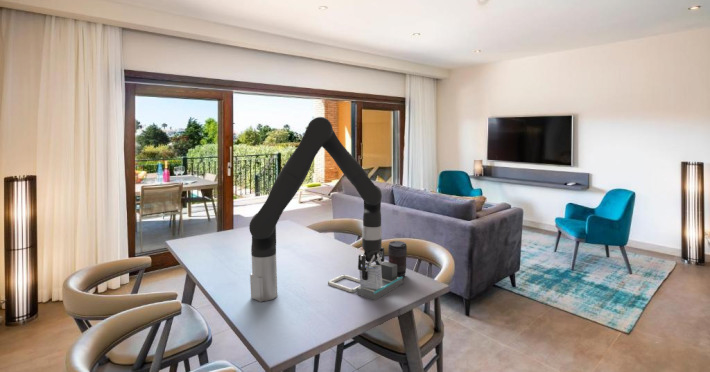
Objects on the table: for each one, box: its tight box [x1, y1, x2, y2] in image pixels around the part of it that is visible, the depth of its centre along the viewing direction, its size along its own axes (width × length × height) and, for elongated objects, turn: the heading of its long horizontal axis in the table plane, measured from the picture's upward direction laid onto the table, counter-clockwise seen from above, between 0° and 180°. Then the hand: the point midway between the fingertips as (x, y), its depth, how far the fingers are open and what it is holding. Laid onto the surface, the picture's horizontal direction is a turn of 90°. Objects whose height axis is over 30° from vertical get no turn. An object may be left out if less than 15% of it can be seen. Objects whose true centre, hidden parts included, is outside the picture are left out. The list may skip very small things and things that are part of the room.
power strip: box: [356, 261, 404, 301], centre depth 149 cm, size 20×9×9 cm, turn 141°
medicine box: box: [359, 263, 382, 290], centre depth 144 cm, size 8×4×9 cm, turn 56°
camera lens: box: [387, 240, 408, 278], centre depth 162 cm, size 8×8×15 cm
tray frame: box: [327, 274, 360, 294], centre depth 154 cm, size 11×14×1 cm
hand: (371, 276), depth 144 cm, fingers open, 8 cm apart
